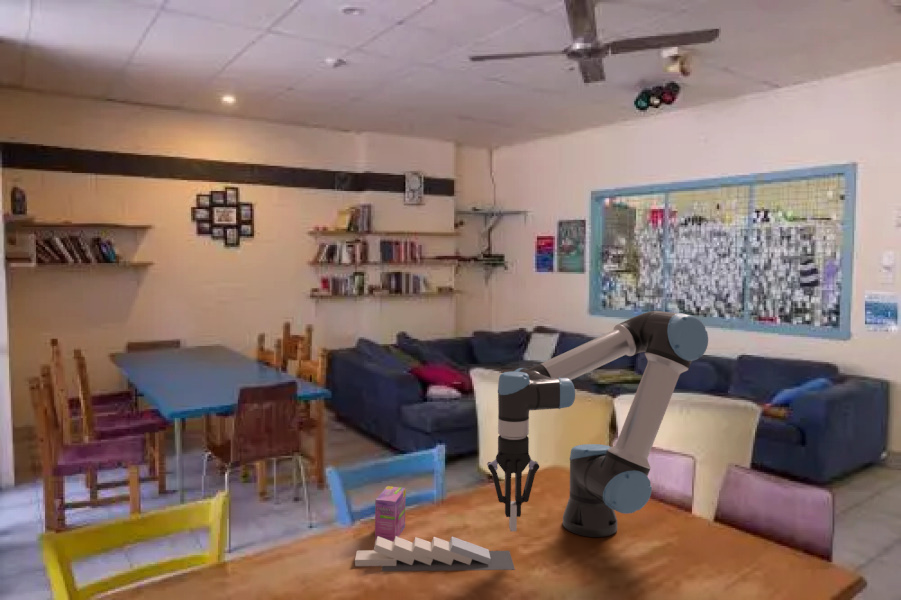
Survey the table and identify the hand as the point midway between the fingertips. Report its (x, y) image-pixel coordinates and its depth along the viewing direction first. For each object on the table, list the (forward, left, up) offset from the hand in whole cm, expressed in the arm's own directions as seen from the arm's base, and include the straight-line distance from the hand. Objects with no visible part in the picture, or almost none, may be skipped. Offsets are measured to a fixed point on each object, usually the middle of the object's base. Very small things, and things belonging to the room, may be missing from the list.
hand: (512, 528), depth 157 cm
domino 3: (+20, 0, -7) cm, 21 cm away
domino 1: (+29, 0, -7) cm, 30 cm away
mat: (+16, 0, -8) cm, 18 cm away
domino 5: (+11, 0, -7) cm, 13 cm away
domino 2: (+25, 0, -7) cm, 26 cm away
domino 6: (+6, 0, -7) cm, 9 cm away
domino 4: (+15, 0, -7) cm, 17 cm away
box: (+31, -16, -9) cm, 36 cm away
